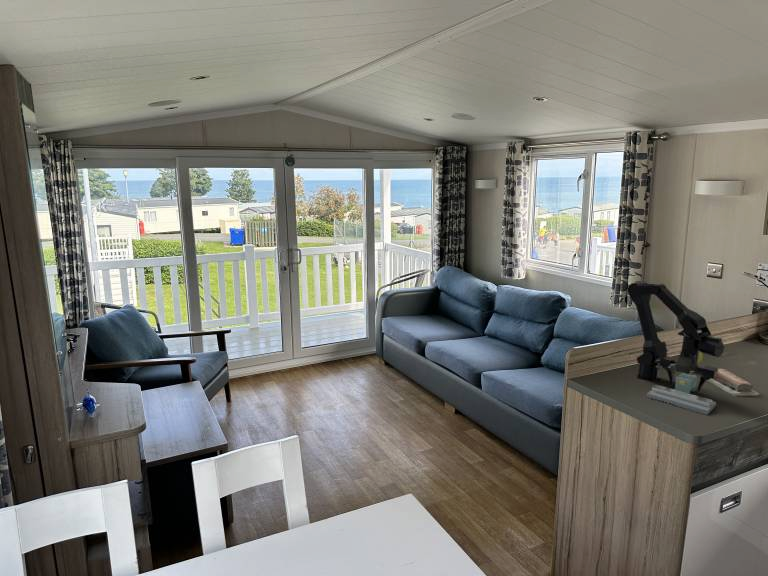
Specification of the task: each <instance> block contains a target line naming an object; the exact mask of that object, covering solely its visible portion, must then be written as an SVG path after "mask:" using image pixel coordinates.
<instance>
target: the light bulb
mask: <svg viewBox="0 0 768 576" xmlns="http://www.w3.org/2000/svg"><path fill="white" fill-rule="evenodd" d="M703 354H704V353H701V352H700V353H699V357H698V365H699V364H700V363H701V362H702V361H703V358H704V355H703ZM695 372H696V371H690V373H695Z"/></svg>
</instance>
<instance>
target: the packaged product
mask: <svg viewBox="0 0 768 576" xmlns="http://www.w3.org/2000/svg"><path fill="white" fill-rule="evenodd" d="M717 369H718V375H717V376H716V377H715V378H714V379H710V380H707V381H708V382H710V383H711V384H712V385H715V386H716V387H718V388H720V389H721V390H723V391H724V392H726V393H728V394H730V395H732V396H734V397H743V396H744V397H746V396H750V397H751V396H755V397H756V396H759V395H760V393H759V392H758V391H756V390H753V387H754V386H753V384H752V383H750V382H748V381H746V380H744V379H743V378H741V377H739V376H737V375H736V374H734V373H732V372H730V371H729V370H727V369H724V368H717Z"/></svg>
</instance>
